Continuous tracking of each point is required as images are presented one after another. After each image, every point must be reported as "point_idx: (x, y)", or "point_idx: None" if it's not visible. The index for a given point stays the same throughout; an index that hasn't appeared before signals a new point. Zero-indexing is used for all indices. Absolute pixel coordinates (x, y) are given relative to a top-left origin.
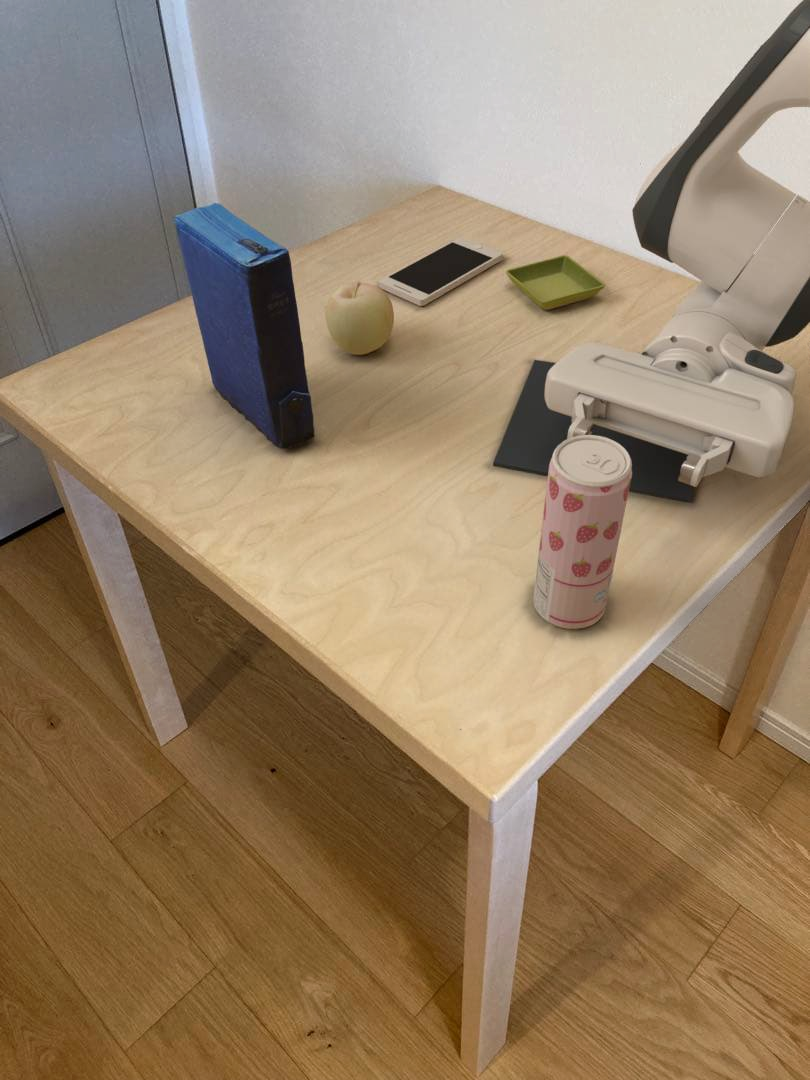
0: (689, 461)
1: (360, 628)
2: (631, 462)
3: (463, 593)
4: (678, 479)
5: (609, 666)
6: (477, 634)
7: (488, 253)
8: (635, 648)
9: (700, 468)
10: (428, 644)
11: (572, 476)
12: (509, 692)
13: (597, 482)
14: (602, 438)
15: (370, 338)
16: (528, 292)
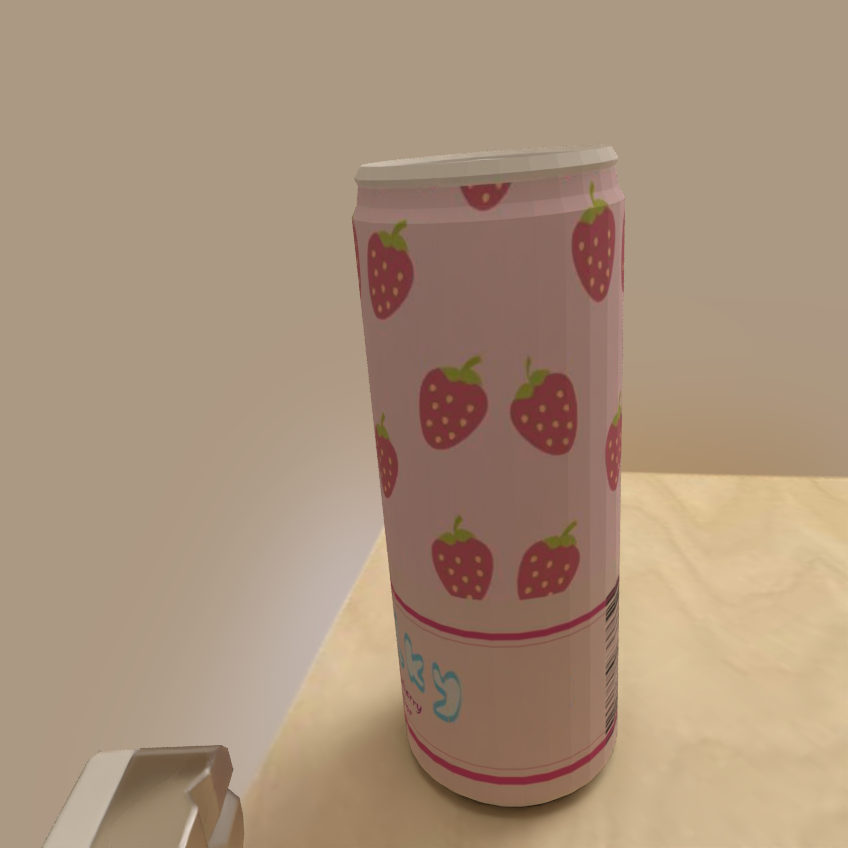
0: (172, 787)
1: (800, 516)
2: (364, 178)
3: (747, 639)
4: (240, 816)
5: (339, 650)
6: (624, 589)
7: None
8: (296, 708)
9: (94, 757)
10: (677, 543)
11: (491, 154)
12: None
13: (419, 157)
14: (509, 161)
15: None
16: None
